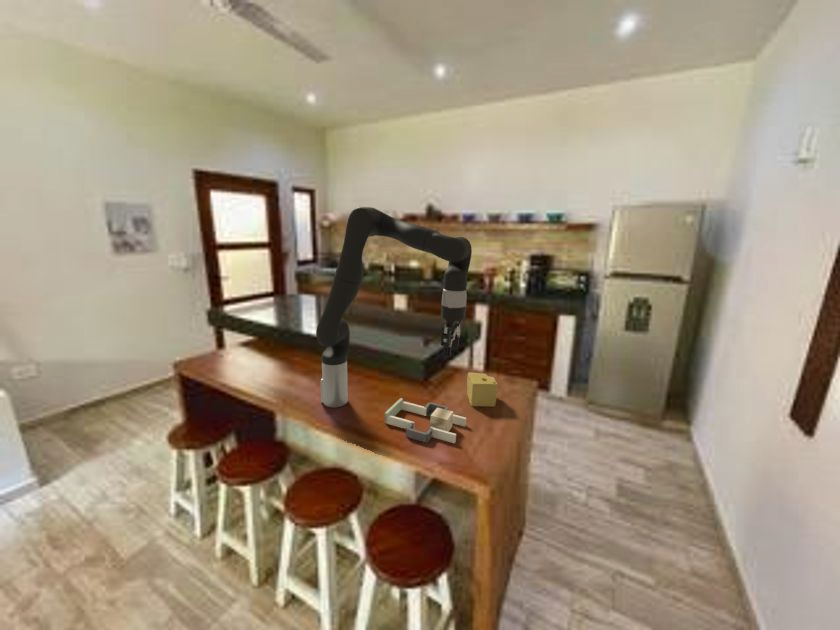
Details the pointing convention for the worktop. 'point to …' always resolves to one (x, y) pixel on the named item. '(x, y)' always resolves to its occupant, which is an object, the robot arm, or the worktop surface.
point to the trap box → (409, 425)
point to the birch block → (442, 419)
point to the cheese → (481, 389)
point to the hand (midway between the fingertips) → (450, 352)
